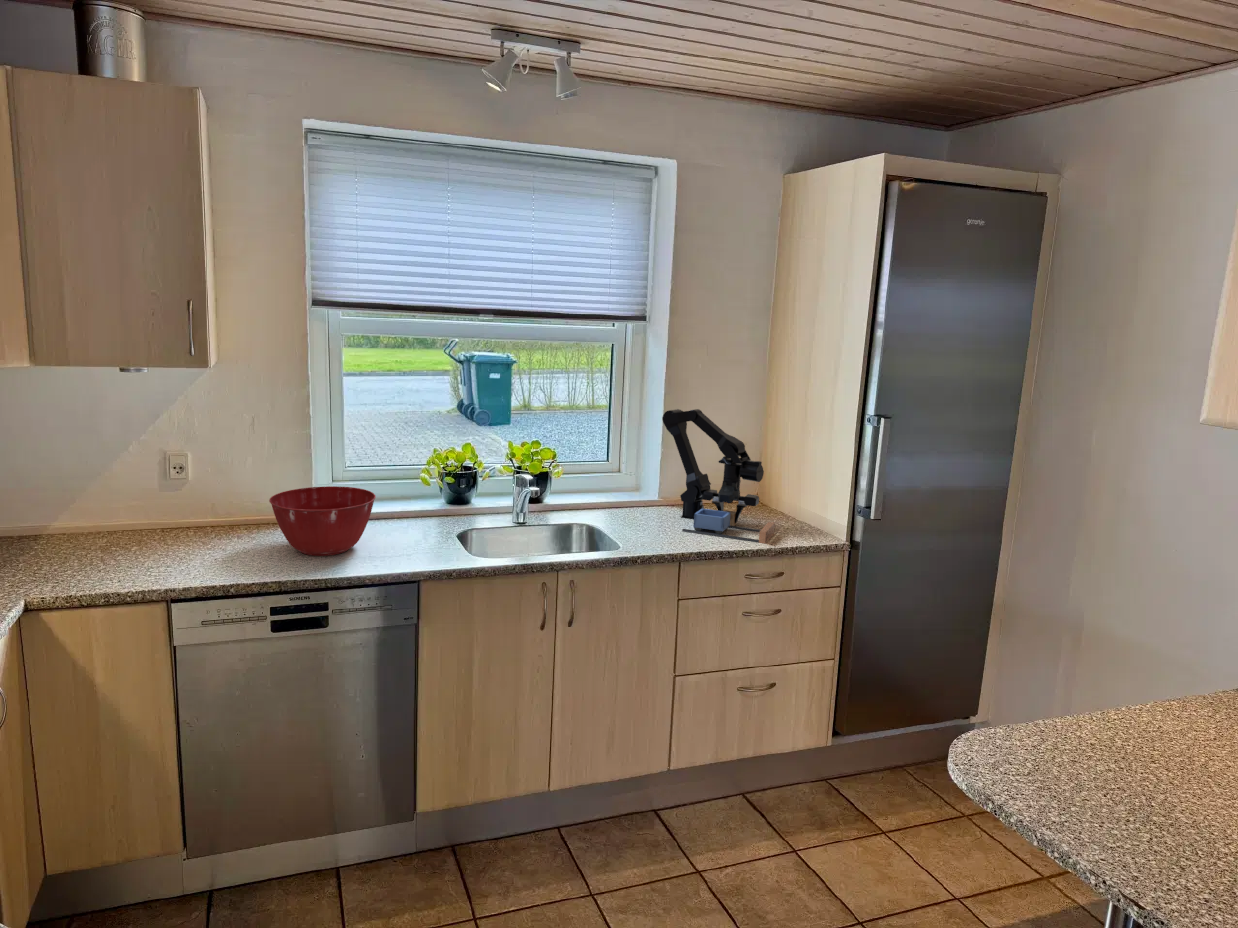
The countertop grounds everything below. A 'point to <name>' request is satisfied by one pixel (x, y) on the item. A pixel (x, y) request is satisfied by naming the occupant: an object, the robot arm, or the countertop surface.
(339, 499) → the mixing bowl
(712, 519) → the box
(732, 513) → the block
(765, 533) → the track
